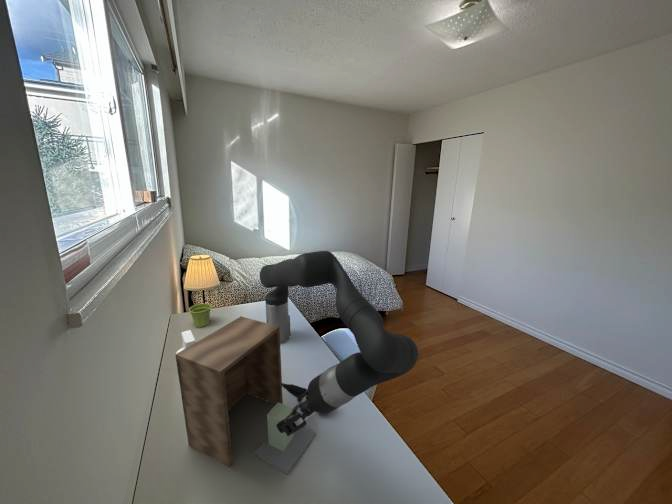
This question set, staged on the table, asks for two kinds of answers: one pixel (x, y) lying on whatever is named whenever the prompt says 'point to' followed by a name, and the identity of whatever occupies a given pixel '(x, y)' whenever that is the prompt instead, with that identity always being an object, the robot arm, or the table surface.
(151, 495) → the table surface
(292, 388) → the microphone
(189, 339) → the cylinder with rectangular tab
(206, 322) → the plant pot
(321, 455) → the table surface
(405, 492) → the table surface
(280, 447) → the sage block
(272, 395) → the walnut cubby
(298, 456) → the slate mat
